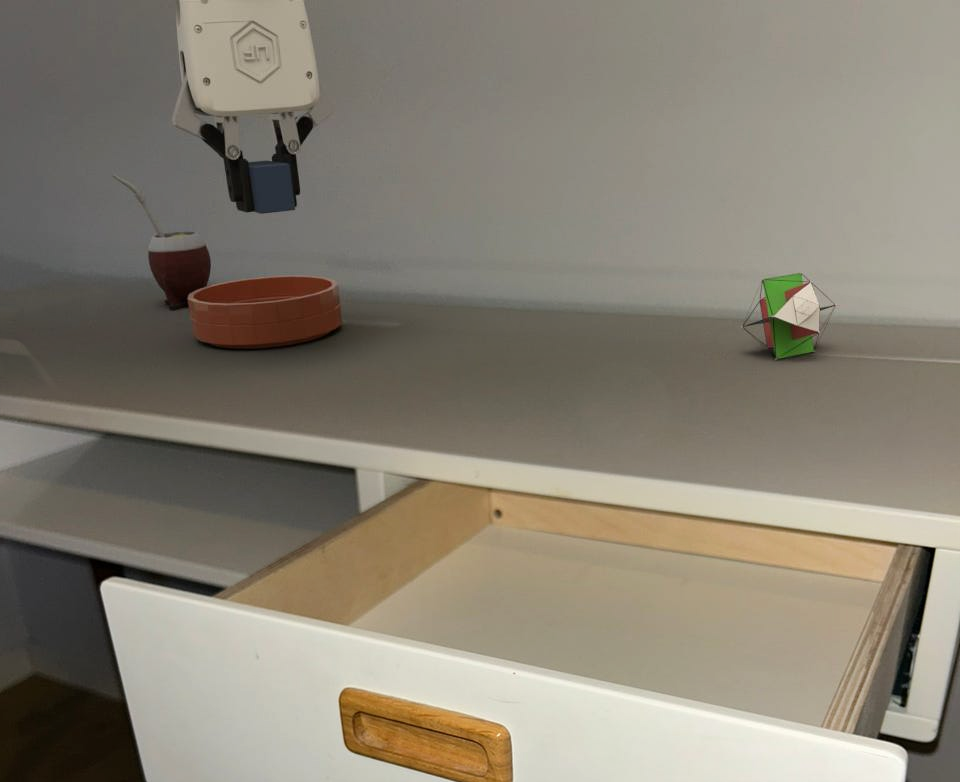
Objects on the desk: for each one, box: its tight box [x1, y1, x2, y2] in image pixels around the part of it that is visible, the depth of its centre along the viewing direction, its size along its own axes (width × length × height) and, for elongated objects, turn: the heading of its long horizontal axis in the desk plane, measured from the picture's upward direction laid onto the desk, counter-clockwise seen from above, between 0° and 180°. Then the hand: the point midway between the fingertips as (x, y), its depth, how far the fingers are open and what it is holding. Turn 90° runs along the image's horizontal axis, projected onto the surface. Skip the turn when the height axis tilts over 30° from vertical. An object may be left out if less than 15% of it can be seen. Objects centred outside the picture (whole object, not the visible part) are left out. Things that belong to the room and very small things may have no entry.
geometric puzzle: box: [740, 271, 838, 361], centre depth 91 cm, size 7×7×8 cm
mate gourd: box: [111, 173, 212, 311], centre depth 125 cm, size 8×8×15 cm
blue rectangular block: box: [248, 160, 296, 215], centre depth 89 cm, size 3×6×4 cm, turn 28°
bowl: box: [187, 275, 343, 350], centre depth 111 cm, size 15×15×4 cm
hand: (266, 206), depth 89 cm, fingers closed on blue rectangular block, 3 cm apart
